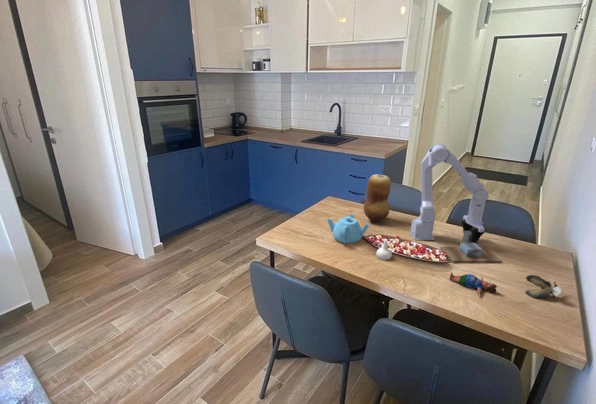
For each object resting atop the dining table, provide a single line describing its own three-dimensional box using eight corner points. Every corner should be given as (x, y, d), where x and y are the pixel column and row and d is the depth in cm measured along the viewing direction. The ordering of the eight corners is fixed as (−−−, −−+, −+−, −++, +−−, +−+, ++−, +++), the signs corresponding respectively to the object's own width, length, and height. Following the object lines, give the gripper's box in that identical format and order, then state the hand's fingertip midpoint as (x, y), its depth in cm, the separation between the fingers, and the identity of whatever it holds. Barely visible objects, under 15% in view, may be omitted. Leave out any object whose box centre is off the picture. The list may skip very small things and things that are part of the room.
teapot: (325, 234, 156) (325, 213, 152) (351, 228, 161) (352, 209, 158) (341, 247, 143) (342, 226, 139) (369, 241, 148) (370, 220, 144)
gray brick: (466, 244, 145) (468, 235, 143) (462, 240, 149) (464, 230, 147) (476, 244, 145) (478, 235, 143) (471, 240, 149) (473, 230, 147)
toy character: (454, 262, 123) (499, 274, 115) (452, 272, 124) (496, 285, 116) (448, 277, 113) (496, 291, 105) (446, 288, 115) (493, 303, 107)
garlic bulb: (375, 259, 134) (376, 243, 130) (377, 251, 139) (378, 236, 135) (390, 262, 132) (392, 246, 128) (392, 254, 137) (393, 238, 133)
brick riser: (452, 262, 130) (454, 253, 129) (440, 248, 141) (441, 239, 140) (501, 262, 130) (503, 253, 129) (485, 248, 141) (487, 239, 140)
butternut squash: (390, 225, 165) (395, 179, 156) (364, 225, 165) (368, 179, 156) (384, 215, 178) (388, 171, 169) (360, 215, 178) (363, 171, 169)
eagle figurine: (547, 285, 114) (521, 278, 115) (561, 277, 108) (534, 270, 109) (551, 305, 110) (524, 298, 111) (566, 298, 104) (537, 291, 105)
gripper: (493, 218, 135) (487, 247, 140) (476, 206, 149) (470, 232, 153) (477, 218, 135) (471, 247, 140) (461, 206, 149) (456, 232, 153)
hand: (469, 239), depth 147 cm, fingers open, 6 cm apart
